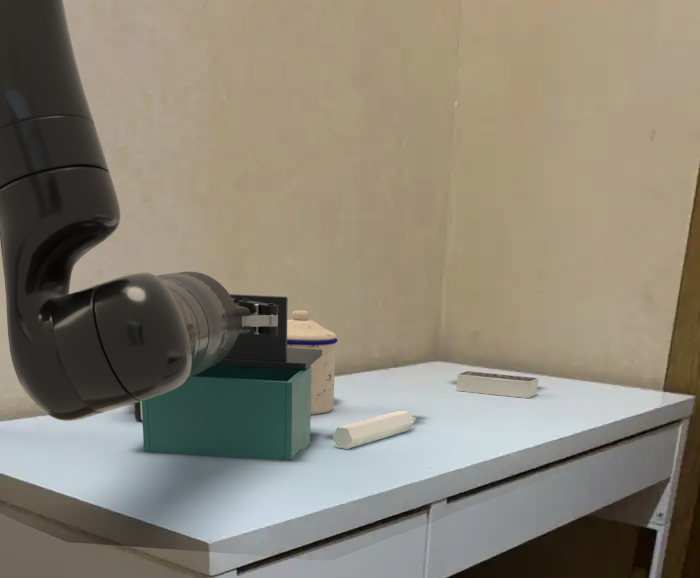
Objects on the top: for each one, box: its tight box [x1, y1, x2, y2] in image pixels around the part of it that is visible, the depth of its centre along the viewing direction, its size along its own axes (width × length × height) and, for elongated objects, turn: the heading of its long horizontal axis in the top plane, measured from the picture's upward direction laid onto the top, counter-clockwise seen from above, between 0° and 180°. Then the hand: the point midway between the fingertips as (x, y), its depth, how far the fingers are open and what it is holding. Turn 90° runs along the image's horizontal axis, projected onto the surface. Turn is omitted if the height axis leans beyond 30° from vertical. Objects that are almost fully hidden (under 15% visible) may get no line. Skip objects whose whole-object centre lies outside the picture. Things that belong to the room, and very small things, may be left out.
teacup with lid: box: [287, 310, 338, 415], centre depth 113 cm, size 12×9×12 cm
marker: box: [332, 410, 417, 450], centre depth 102 cm, size 3×2×16 cm
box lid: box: [215, 293, 322, 370], centre depth 96 cm, size 14×12×7 cm
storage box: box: [141, 365, 312, 461], centre depth 91 cm, size 14×12×8 cm
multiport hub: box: [455, 370, 539, 399], centre depth 135 cm, size 4×11×2 cm, turn 64°
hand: (229, 309), depth 87 cm, fingers closed
